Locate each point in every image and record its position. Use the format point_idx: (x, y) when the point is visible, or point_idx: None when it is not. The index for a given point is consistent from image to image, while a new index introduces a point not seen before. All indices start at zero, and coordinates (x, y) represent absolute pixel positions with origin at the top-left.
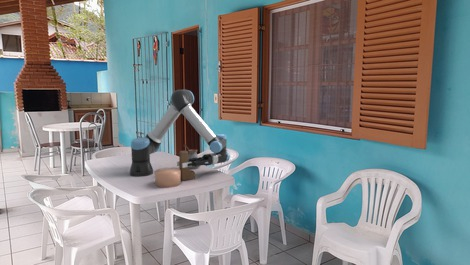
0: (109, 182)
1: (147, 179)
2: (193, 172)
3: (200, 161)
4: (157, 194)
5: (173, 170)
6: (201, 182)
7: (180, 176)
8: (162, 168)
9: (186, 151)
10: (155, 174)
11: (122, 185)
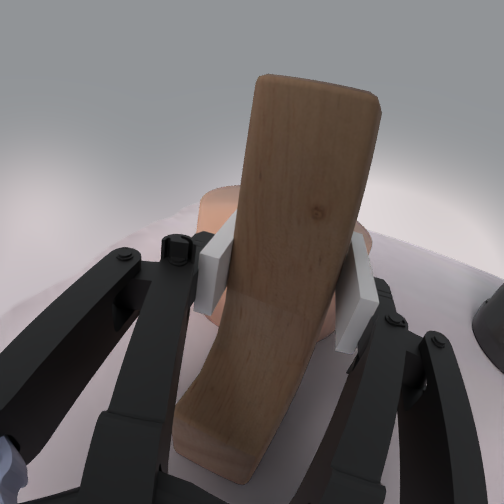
0: (431, 252)
1: (414, 306)
2: (182, 397)
3: (60, 327)
4: (195, 209)
5: None
6: None
7: None
8: (367, 239)
9: (298, 79)
10: None
11: (379, 242)
